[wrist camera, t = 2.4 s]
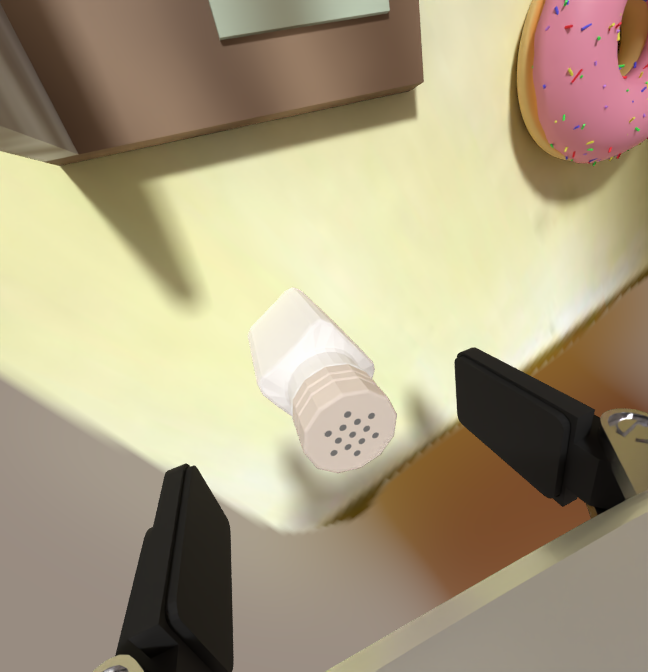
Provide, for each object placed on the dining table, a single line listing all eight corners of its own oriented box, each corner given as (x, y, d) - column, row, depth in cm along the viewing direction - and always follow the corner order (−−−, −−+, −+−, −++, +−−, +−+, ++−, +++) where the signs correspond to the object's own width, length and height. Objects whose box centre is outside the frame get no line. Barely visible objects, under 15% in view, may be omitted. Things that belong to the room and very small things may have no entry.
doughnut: (673, -113, 15) (817, -215, 11) (637, 135, 20) (729, 120, 17) (493, -58, 14) (591, -154, 10) (503, 194, 19) (571, 190, 15)
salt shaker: (292, 369, 19) (347, 498, 11) (242, 331, 17) (261, 452, 9) (336, 323, 19) (429, 419, 10) (291, 280, 17) (359, 353, 8)
